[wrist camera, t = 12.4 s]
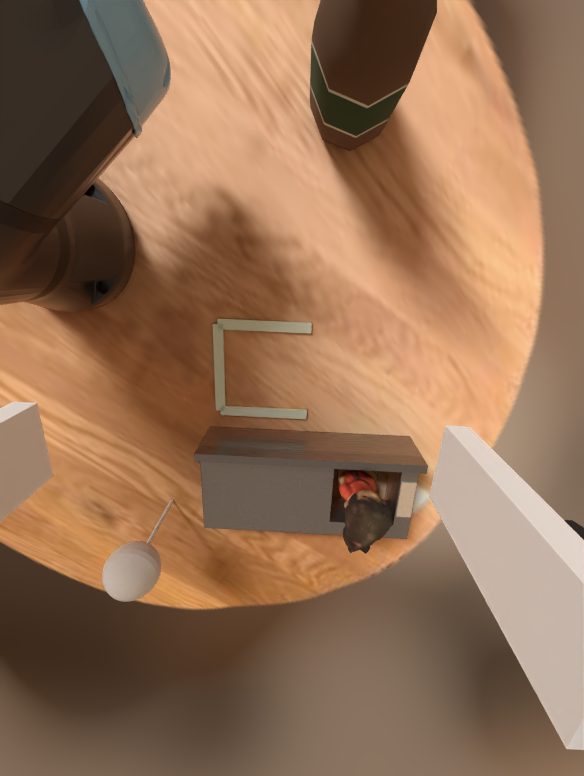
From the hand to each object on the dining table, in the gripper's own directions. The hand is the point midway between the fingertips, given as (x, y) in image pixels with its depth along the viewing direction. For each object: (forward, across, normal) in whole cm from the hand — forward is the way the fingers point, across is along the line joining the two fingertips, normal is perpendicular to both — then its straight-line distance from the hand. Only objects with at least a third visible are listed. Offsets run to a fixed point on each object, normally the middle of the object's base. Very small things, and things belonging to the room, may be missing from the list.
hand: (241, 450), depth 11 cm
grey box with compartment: (+30, +4, -21) cm, 37 cm away
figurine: (+31, +11, -21) cm, 39 cm away
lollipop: (+31, -15, -27) cm, 44 cm away
